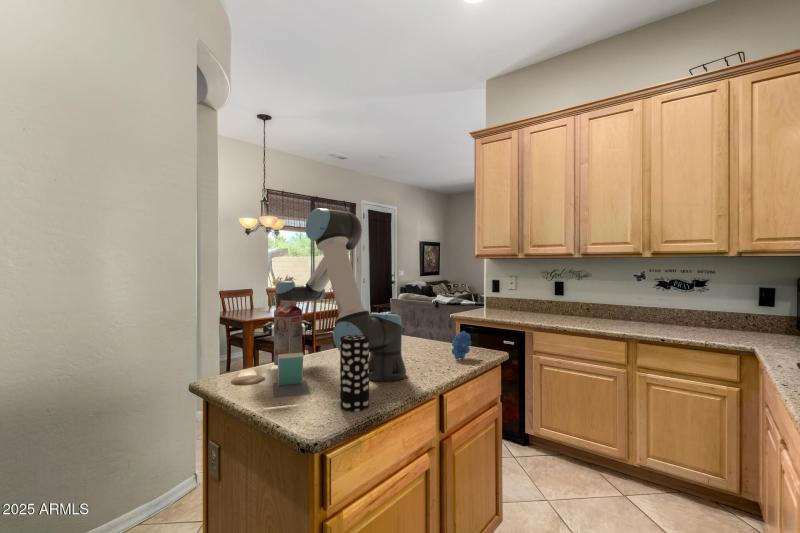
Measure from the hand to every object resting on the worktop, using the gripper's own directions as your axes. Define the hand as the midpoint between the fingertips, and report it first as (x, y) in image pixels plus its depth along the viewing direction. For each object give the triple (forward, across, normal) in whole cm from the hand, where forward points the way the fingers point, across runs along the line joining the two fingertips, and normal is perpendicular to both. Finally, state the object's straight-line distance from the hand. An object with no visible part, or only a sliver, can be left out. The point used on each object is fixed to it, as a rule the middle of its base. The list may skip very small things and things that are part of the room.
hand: (288, 331), depth 130 cm
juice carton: (-4, 0, -12) cm, 13 cm away
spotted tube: (+25, -17, -19) cm, 36 cm away
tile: (0, 0, -18) cm, 18 cm away
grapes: (-16, -73, -19) cm, 77 cm away
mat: (+5, 0, -18) cm, 19 cm away
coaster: (-9, +13, -18) cm, 24 cm away
